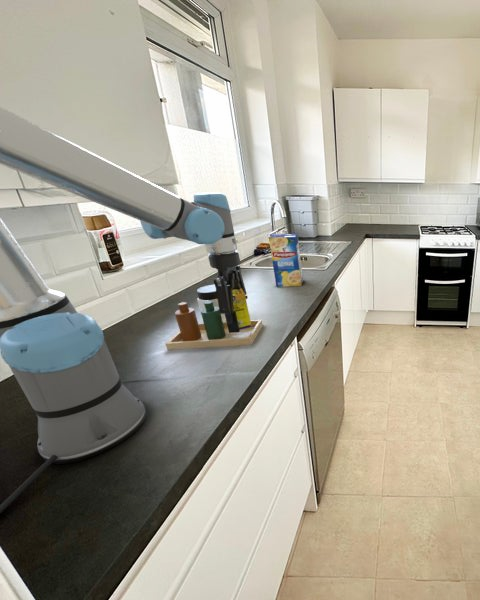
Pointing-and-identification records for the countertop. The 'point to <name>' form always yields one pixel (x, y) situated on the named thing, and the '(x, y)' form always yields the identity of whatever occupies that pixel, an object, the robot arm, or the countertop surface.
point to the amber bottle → (187, 323)
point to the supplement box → (241, 308)
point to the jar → (208, 298)
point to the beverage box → (286, 259)
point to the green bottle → (213, 321)
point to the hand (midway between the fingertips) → (239, 325)
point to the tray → (230, 339)
